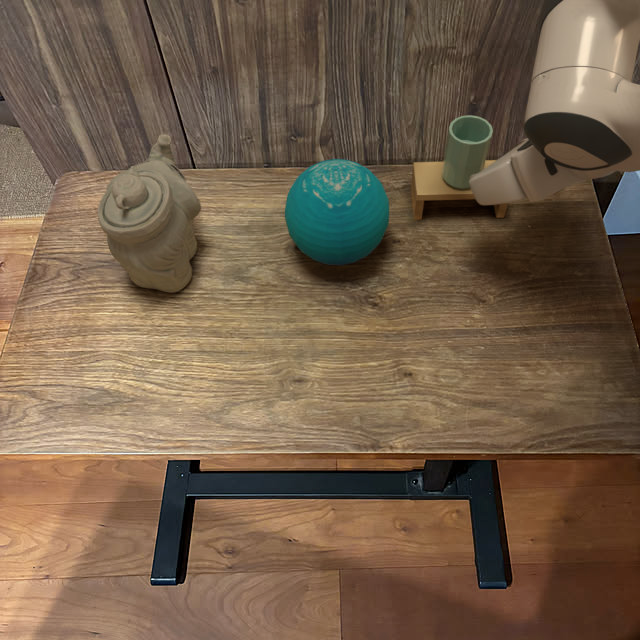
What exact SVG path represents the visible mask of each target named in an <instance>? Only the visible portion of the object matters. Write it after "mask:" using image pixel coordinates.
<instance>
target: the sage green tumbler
mask: <svg viewBox="0 0 640 640" xmlns="http://www.w3.org/2000/svg"><path fill="white" fill-rule="evenodd" d="M493 134H494V130H493V126H492V124H491V123H490V122H489V121H488V120H487V119H485V118H483V117H481V116H477V115H472V114H470V115H467V114H466V115H461V116H458V117H456V118H455V119H453V120H452V121H451V122H450V123H449V126H448V132H447V136H446V142H445V148H444V154H443V160H442V162H443V167H442V176H443V178H444V180H445V181H446V182H447V183H448V184H449V185H450V186H452V187H454V188H458V189H467V188H470V185H469V180H470V176H471V175H473V174H474V173H476V172H477V171H481V170H484V167H485V163H486V160H487V158H488V154H489V150H490V146H491V142H492V138H493Z"/></svg>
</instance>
